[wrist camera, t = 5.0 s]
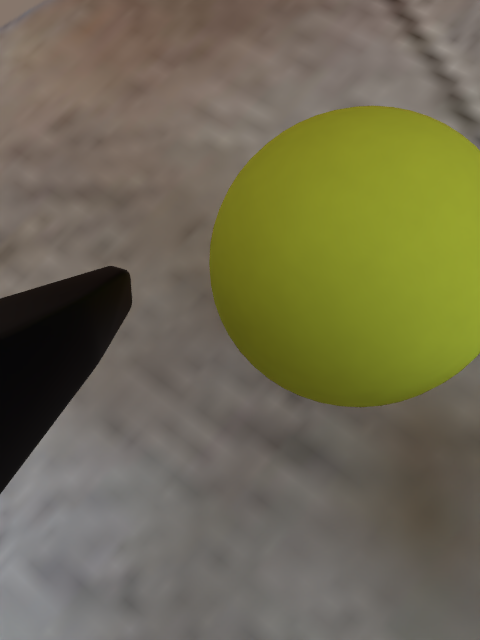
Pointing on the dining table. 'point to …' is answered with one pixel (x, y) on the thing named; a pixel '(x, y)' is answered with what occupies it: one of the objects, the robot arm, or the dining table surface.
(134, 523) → the dining table surface
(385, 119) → the ball
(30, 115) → the dining table surface
